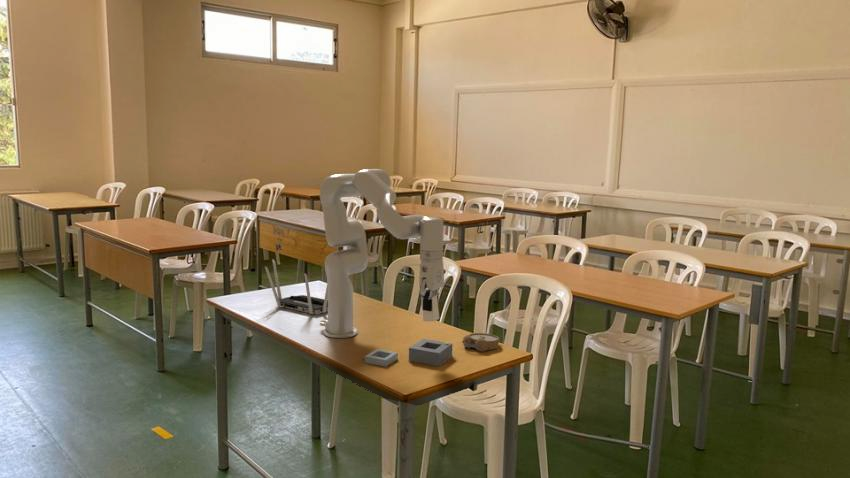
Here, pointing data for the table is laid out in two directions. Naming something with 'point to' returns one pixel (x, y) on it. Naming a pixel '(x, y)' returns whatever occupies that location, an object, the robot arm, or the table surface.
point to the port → (430, 352)
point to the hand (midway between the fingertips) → (430, 308)
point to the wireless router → (299, 297)
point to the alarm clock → (481, 341)
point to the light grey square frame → (381, 357)
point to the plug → (434, 313)
